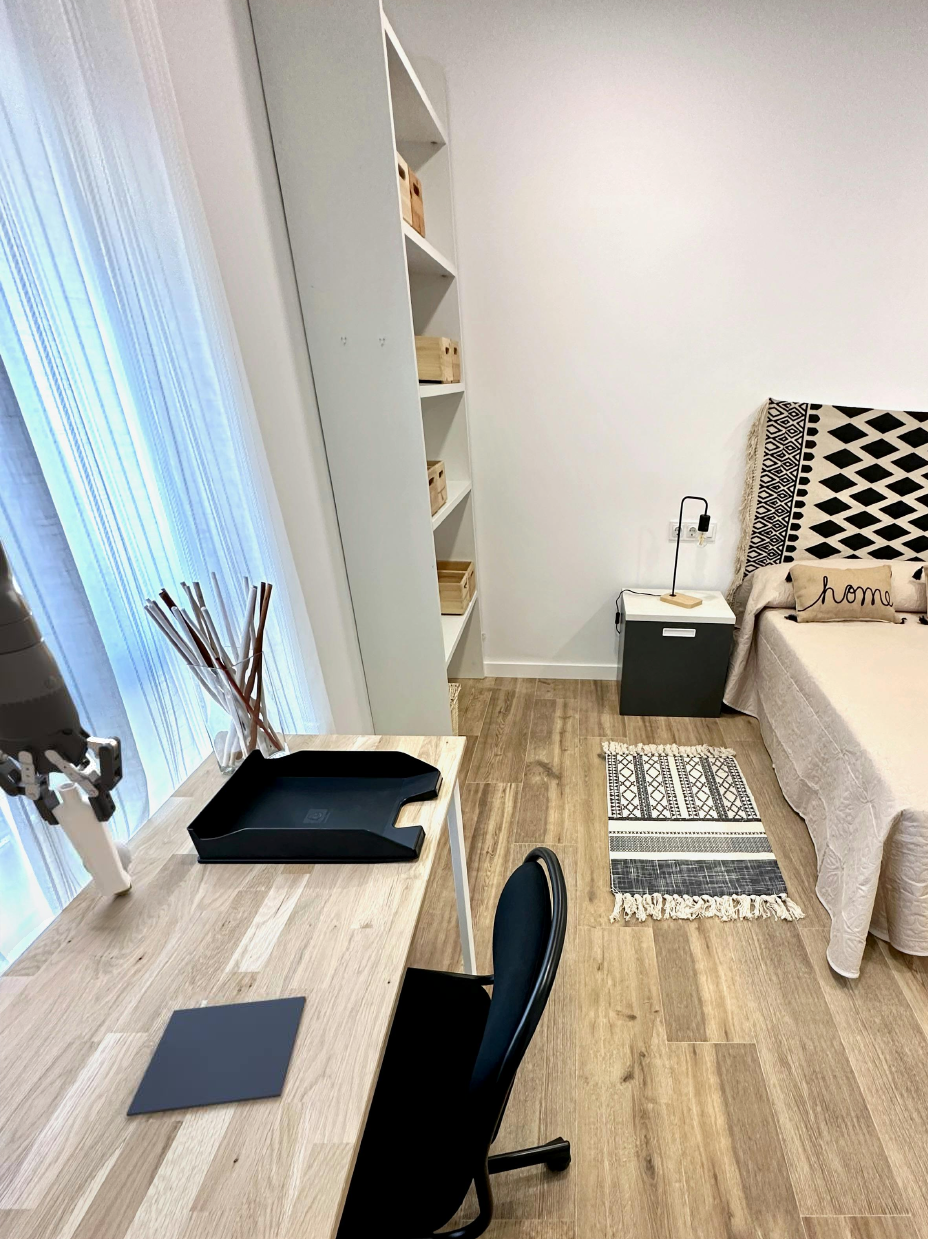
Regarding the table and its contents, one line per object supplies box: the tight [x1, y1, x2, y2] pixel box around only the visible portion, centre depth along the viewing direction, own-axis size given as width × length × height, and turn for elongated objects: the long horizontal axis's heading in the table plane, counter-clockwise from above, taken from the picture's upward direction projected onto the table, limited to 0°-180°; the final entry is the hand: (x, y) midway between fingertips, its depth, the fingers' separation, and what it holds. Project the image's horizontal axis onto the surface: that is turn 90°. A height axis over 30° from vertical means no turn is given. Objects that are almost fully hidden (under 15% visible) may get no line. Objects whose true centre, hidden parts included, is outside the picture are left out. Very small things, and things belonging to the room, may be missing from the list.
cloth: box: [125, 995, 307, 1117], centre depth 79 cm, size 16×14×1 cm
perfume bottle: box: [52, 781, 132, 898], centre depth 78 cm, size 5×4×15 cm
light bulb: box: [81, 838, 133, 896], centre depth 99 cm, size 6×6×10 cm
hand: (82, 819), depth 77 cm, fingers closed on perfume bottle, 4 cm apart
